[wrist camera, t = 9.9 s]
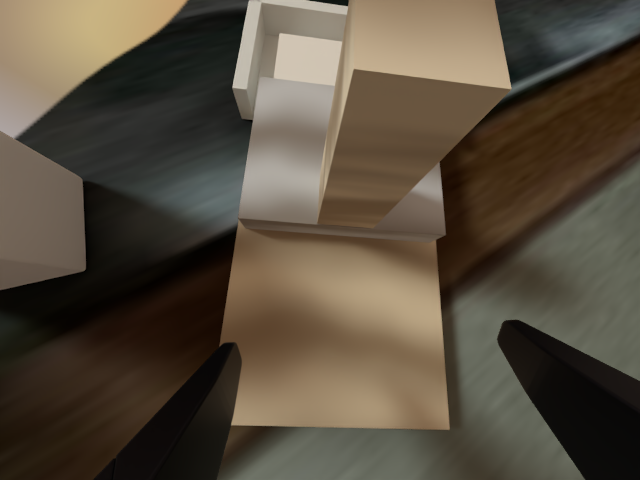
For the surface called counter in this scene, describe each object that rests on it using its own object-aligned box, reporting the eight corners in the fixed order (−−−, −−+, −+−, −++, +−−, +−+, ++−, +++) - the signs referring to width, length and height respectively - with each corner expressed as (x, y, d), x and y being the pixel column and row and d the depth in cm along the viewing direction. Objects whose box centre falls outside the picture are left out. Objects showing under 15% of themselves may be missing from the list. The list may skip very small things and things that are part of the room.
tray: (435, 140, 21) (456, 114, 18) (241, 118, 20) (232, 87, 17) (428, 55, 24) (445, 21, 21) (256, 31, 23) (250, -8, 20)
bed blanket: (429, 242, 17) (703, 115, 6) (245, 228, 16) (111, 39, 5) (420, 117, 20) (590, -139, 8) (263, 99, 19) (210, -218, 7)
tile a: (335, 116, 20) (339, 91, 18) (275, 109, 20) (272, 83, 17) (337, 70, 22) (342, 41, 19) (281, 63, 21) (279, 32, 19)
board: (435, 418, 16) (449, 429, 14) (216, 412, 15) (207, 424, 13) (418, 142, 21) (427, 131, 20) (258, 125, 20) (255, 111, 19)
